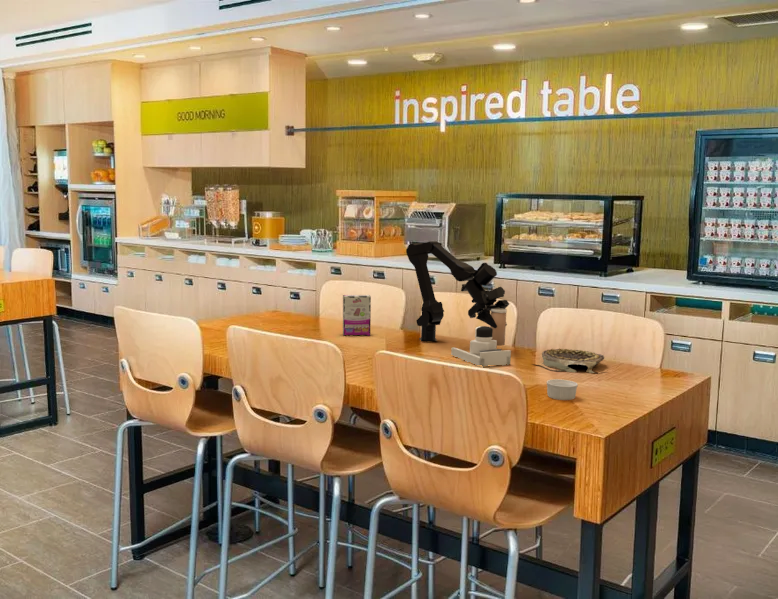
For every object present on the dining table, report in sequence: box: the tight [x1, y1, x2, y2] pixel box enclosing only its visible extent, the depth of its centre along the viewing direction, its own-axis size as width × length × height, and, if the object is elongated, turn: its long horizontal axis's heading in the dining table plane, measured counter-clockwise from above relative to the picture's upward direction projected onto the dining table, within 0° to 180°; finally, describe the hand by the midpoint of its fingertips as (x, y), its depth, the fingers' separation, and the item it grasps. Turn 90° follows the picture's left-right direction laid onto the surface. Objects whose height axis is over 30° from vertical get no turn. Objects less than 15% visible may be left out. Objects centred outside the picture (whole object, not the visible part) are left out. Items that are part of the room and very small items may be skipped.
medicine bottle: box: [469, 325, 498, 356], centre depth 275 cm, size 7×7×12 cm
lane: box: [450, 347, 512, 368], centre depth 277 cm, size 20×12×5 cm, turn 25°
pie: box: [539, 348, 605, 374], centre depth 273 cm, size 28×27×5 cm
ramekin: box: [546, 378, 579, 401], centre depth 229 cm, size 9×9×4 cm
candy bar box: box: [342, 294, 372, 337], centre depth 321 cm, size 11×5×16 cm, turn 99°
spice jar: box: [489, 308, 508, 347], centre depth 289 cm, size 6×6×13 cm
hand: (501, 326), depth 288 cm, fingers closed on spice jar, 5 cm apart
